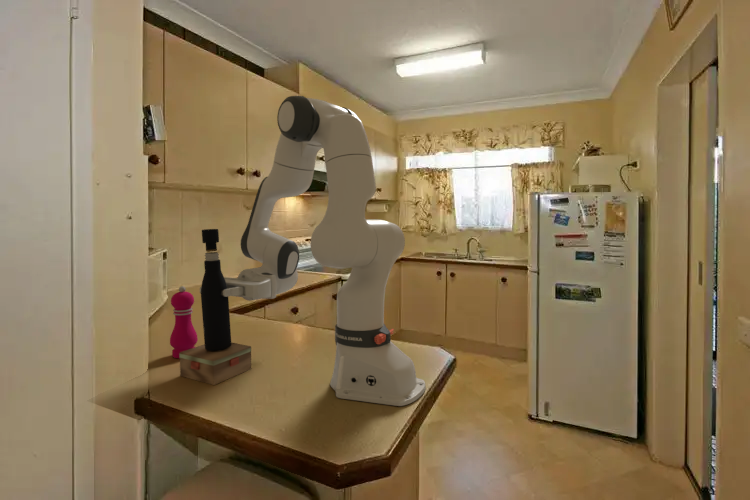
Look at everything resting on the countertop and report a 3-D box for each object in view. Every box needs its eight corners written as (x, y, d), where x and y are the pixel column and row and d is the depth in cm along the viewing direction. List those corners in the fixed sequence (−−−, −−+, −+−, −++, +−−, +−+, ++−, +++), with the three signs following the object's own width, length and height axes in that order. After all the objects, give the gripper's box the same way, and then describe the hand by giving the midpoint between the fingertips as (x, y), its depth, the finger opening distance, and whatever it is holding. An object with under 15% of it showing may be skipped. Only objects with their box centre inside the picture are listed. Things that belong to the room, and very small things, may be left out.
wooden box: (253, 369, 106) (252, 346, 106) (213, 386, 95) (213, 361, 95) (219, 361, 112) (218, 339, 112) (178, 376, 101) (177, 353, 101)
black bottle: (237, 343, 106) (229, 228, 102) (218, 352, 100) (209, 230, 97) (218, 341, 109) (210, 228, 105) (199, 349, 103) (189, 230, 99)
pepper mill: (187, 360, 113) (185, 288, 112) (164, 358, 115) (162, 287, 113) (203, 351, 120) (201, 284, 119) (181, 350, 122) (179, 283, 120)
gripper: (225, 270, 119) (183, 276, 106) (280, 275, 109) (241, 282, 97) (226, 292, 119) (184, 300, 107) (280, 298, 110) (241, 308, 97)
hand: (212, 291), depth 102 cm, fingers closed on black bottle, 6 cm apart
